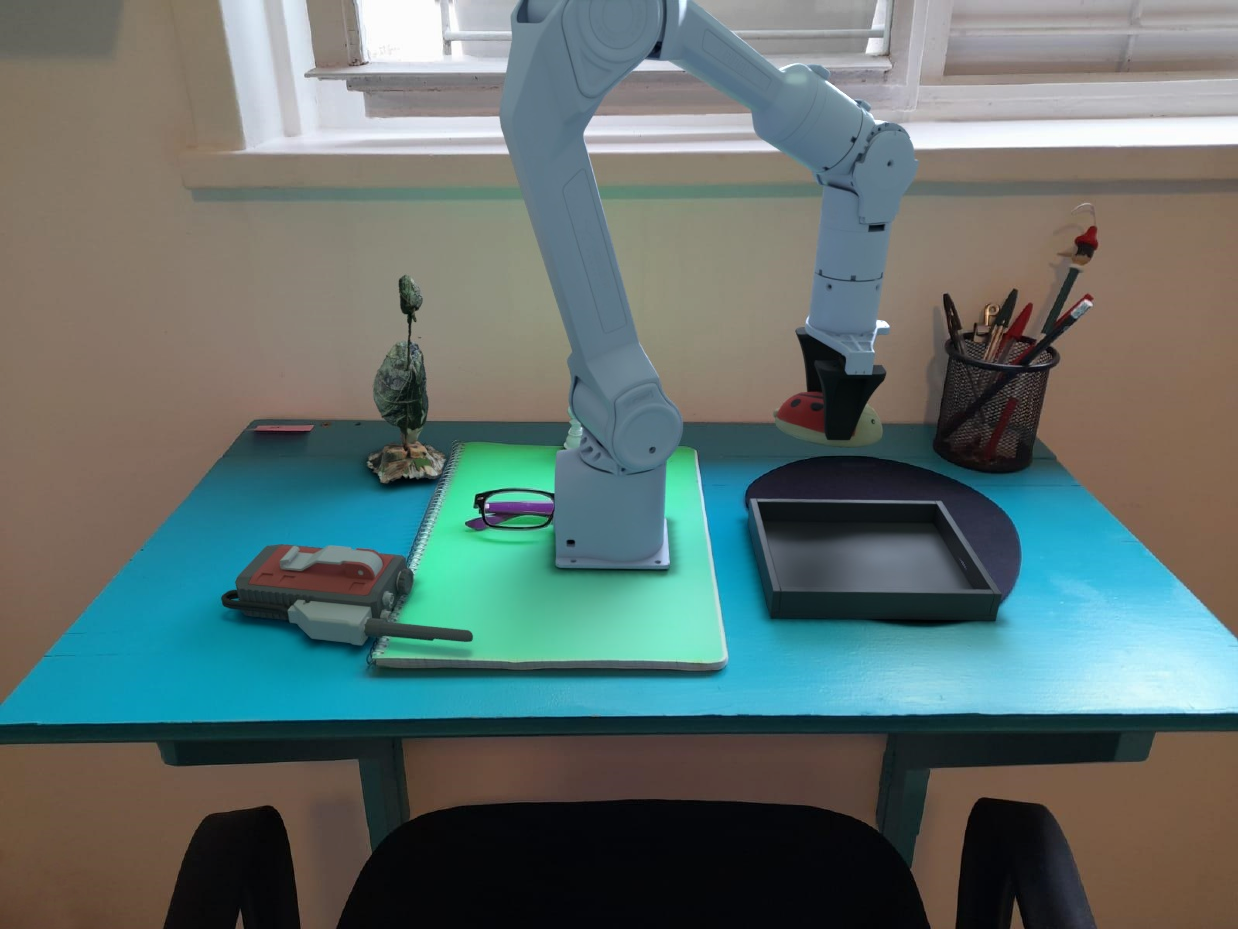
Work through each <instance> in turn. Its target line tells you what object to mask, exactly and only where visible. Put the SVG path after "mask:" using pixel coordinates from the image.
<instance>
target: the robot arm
mask: <svg viewBox="0 0 1238 929" xmlns="http://www.w3.org/2000/svg"><path fill="white" fill-rule="evenodd" d="M510 30H511V42H510V48H509V54H508V59H507V65H506V70H505V77H504V81H503V82H504V83H503V88H502V93H501V99H500V105H499V111H498V118H499V124H500V129H501V132H502V135H503V138H504V141H505V145H506V148H507V151H508V154H509V158H510V161H511V163H512V167H513V170H514V173H515V176H516V180H517V181H518V186H519V188H520V191H521V195H522V199H523V201H524V205H525V207H526V211H527V214H528V217H529V220H530V223H531V226H532V230H533V232H534V235H535V239H536V242H537V246H538V248H539V251H540V254H541V255H540V256H541V258H542V261H543V264H544V266H545V270H546V274H547V276H548V280H549V283H550V286H551V289H552V292H553V295H554V298H555V302H556V305H557V308H558V311H559V314H560V317H561V320H562V324H563V326H564V330H565V332H566V337H567V339H568V343H569V345H570V349H571V352H570V354H569V356H568V357H567V359H566V363H567V366H568V367H567V368H568V370H569V375H570V385H569V391H568V407H569V406H570V409H571V412H572V414H573V416H574V417H575V418H576V419H577V421H578V422H579V423H581V427H582V436H581V440H580V446H579V447H577V448H572V449H566V448H565V449H559V450H557V451H556V454H555V464H554V492H553V493H554V494H553V495H554V497H553V498H554V511H553V516H552V517H553V518H552V523H553V524H552V528H553V529H552V530H553V532H554V534H555V535H554V536H555V566H556V567H557V568H559V569H610V570H611V569H613V570H614V569H618V570H621V569H622V570H624V569H625V570H668V569H670V566H671V558H670V545H669V532H668V518H666V517H665V516H666V493H667V492H666V490H667V485H666V484H667V467H668V466H667V465H668V459H670V458H671V457H672V456H673V454H674V453H675V452H676V450H677V448H678V447H679V445H680V443H681V441H682V437H683V433H684V420H683V416H682V414H681V411H680V409H679V408H678V406H677V405H676V404H675V403H674V402H673V401H672V400H671V399H670V398H669V397H668V395H667V394H666V393H665V390H664V389H663V386H662V382H661V378H660V375H659V374H658V372H657V370H656V368H655V367H654V365H653V363H652V361H651V360H650V359H649V356H648V355H647V354H646V352H645V350H644V348H643V346H642V345H641V343H640V340H639V336H638V332H637V329H636V325H635V321H634V318H633V313H632V310H631V307H630V303H629V299H628V296H627V292H626V287H625V285H624V280H623V276H622V273H621V270H620V266H619V262H618V258H617V254H616V251H615V247H614V244H613V240H612V236H611V233H610V228H609V225H608V222H607V216H606V214H605V210H604V207H603V206H604V205H603V202H602V199H601V197H600V192H599V188H598V184H597V180H596V176H595V172H594V170H593V165H592V162H591V158H590V155H589V151H588V147H587V144H586V139H585V130H586V129H587V127H588V125H589V124H590V122H591V120H592V118H593V117H594V115H595V114H596V112H597V110H598V109H599V107H600V105H601V104H602V102H603V100H604V99H605V97H606V95H608V94H609V93H610V92H611V91H612V90H613V89H614V88H615V87H617V86H618V85H619V84H621V82H622V81H623V80H624V79H626V78H627V77H628V76H629V75H630V74H631V73H632V72H633V71H634V70H635V69H637V68H638V67H639V66H640V65H641V64H642V63H643V62H644V61H645V60H649V61H656V62H657V61H659V62H669V63H671V64H673V65H674V66H676V67H677V68H679V69H681V70H682V71H684V72H686V73H688V74H689V75H691V76H693V77H695V78H696V79H698V80H700V81H701V82H703V83H705V84H706V85H708V86H710V87H712V88H714V89H715V90H716V91H718V92H720V93H721V94H723V95H725V96H727V97H728V98H730V99H732V100H733V101H735V102H737V103H738V104H740V105H742V106H744V107H745V108H746V109H749V110H750V115H751V123H752V128H753V131H754V133H755V135H756V136H757V137H758V138H759V139H761V140H763V141H764V142H766V143H767V144H769V145H770V146H772V147H773V148H775V149H777V150H778V151H780V152H781V153H783V154H784V155H786V156H788V157H789V158H791V159H792V160H794V161H795V162H797V163H799V164H800V165H801V166H803V167H804V168H806V169H808V170H809V171H811V175H812V178H813V179H814V181H815V182H816V184H817V185H818V186H821V187H822V186H823V190H822V197H821V205H820V215H819V224H818V233H817V240H816V241H817V242H816V248H815V257H814V265H813V275H812V284H811V293H810V301H809V302H810V303H809V310H808V316H807V317H806V319H805V322H804V323H805V325H804V326H801V327H797V328H795V330H794V332H795V334H796V337H797V340H798V342H799V346H800V349H801V353H802V357H803V364H804V371H805V384H806V385H805V386H806V392H822V393H823V405H824V431H825V436H826V438H827V440H850V439H851V437H852V435H853V433H854V431H855V429H856V426H857V424H858V421H859V419H860V416H861V414H862V412H863V410H864V408H865V406H866V404H868V402H869V400H870V399H871V397H872V396H873V394H874V393H875V392H876V390H878V388H879V387H880V385H881V384H882V383H883V382H884V381H885V379H886V377H887V370H886V368H885V367H884V366H883V365H882V364H874V363H875V359H876V358H875V356H876V351H875V349H874V347H875V343H876V340H877V337H878V336H887V335H889V334H890V332H891V331H890V330H891V326H890V324H888V323H887V322H886V321H885V320H880V319H878V317H879V310H880V303H881V297H882V289H883V284H884V278H885V272H886V265H887V258H888V251H889V245H890V238H891V231H892V225H893V221H895V219H896V215H899V211H900V207H901V206H900V205H901V201H902V197H903V196H904V194H905V192H906V191H907V190H908V188H909V187H910V186H911V185H912V183H913V181H914V179H915V177H916V174H917V172H918V169H919V165H920V160H919V159H916V157H915V156H916V155H915V147H914V144H913V142H912V140H911V136H910V134H909V133H908V131H907V130H906V129H905V128H904V127H903V126H901V125H900V124H899V123H894V122H891V121H890V122H889V121H885V120H884V121H883V120H878V119H874V118H875V117H874V116H873V115H872V113H871V112H870V111H871V109H872V105H871V104H870V103H869V102H867V100H864V99H861V98H854V99H853V98H851V97H849V95H847V94H845V93H844V92H843V91H842V90H840V89H839V88H837V87H836V86H835V85H833V84H832V83H830V82H829V81H828V79H829V78H830V76H831V71H830V70H828V69H827V68H825V67H824V66H823V65H822V64H817V63H808V64H807V65H805V64H804V63H801V62H800V63H799V62H798V63H797V62H796V63H792V64H788V65H786V66H783V67H780V68H778V67H777V66H776V65H774V64H773V63H772V62H771V61H769V60H768V59H767V58H766V57H765V56H763V55H762V54H761V53H759V52H758V51H757V50H756V49H754V47H752V46H751V45H749V44H748V43H747V42H746V41H745V40H743V39H742V38H741V37H740V36H738V35H737V34H735V32H734V31H732V30H731V29H730V28H728V27H727V26H726V25H725V24H723V23H722V22H721V21H720V20H719V19H717V18H716V17H714V16H713V14H711V13H710V12H708V11H707V10H706V9H704V7H702V6H701V5H700V4H699V3H697V2H696V1H695V0H518V1H517V3H516V4H515V7H514V8H513V10H512V12H511V13H510Z"/></svg>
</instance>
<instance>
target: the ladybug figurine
mask: <svg viewBox="0 0 1238 929" xmlns="http://www.w3.org/2000/svg"><path fill="white" fill-rule="evenodd" d="M772 416H773V418H774V424H775V426H776V427H777V429H779V431H781V432H782V433H784V434H786V435H787V436H788V437H789V436H790V437H791V438H794V439H797V440H799V441H803V442H806V443H811V444H813V445H814V444H815V445H820V446H824V447H833V448H848V449H849V448H851V449H854V448H863V447H868V446H871V445H875V444H876V443H878V442H879V441H880V440H881V439H882V437H883V432H884V431H883V424H882V422H881V419H880V416H879V414H878V413H877V412H876V410H875V409H874V408H873V407H872V406H871V405H870V404H869V403H867V404H866V406H865V408H864V410H863V412H862V414H861V416H860V419H859V421H858V424H857V426H856V429H855V431H854V433H853V435H852V437H851V439H850V440H827V438H826V436H825V431H824V405H823V393H822V392H807V391H801V392H798V393H796V394H794V395H792V396H790V397H788V398H787V399H786V400H785V401H784V402H783V403H782V405H781V406H780V407H779V408H775V409H774V410H773V412H772Z"/></svg>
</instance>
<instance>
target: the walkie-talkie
mask: <svg viewBox="0 0 1238 929" xmlns="http://www.w3.org/2000/svg"><path fill="white" fill-rule="evenodd" d="M407 565H408V564H407V557H406V556H404V555H403V554H394V553H383V552H379V551H377V550H375V549H372V548H364V547H363V548H361V547H356V548H355V549H353V547H352V546H351V547H350V546H341V545H330V544H329V545H327V546H325V547H321V546H320V547H316V546H307V545H297V544H288V543H287V544H284V543H278V544H270V545H266V546H264V547H263V548H262V550H261V551H260V552H259V553H257V555H256V556H255V557H254V558H253V559H252V560H251V561H250V562H249V564H247V566H246V567H245V568H243V570H242V571H241V572H240V573H239V574H238V575H237V577H236V578H235V581H234V583H235V588H236V589H230V590H228V591H226V592H224V593H223V594H222V595H221V597H220V601H221V604H222V607H224V608H226V609H229V610H239V611H241V612H242V613H243V615H244V616H246V617H253V618H263V619H273V620H282V621H289V624H297V626H298V627H299V628H300V629H301V630H302V631H303V632H304V633H305V634H306V635H307V636H308V637H309V638H310V639H312V640H320V641H321V640H322V641H328V642H338V643H348V644H351V645H353V646H360V647H361V646H363V645H364V644H365V642H366V641H367V640H368V638H370V637H372V638H380V639H381V638H383V637H390V638H399V639H410V640H420V641H430V642H433V641H434V640H440V641H442V640H443V641H451V642H459V643H460V642H461V643H470V642H473V639H474V635H473V632H472V631H470V630H469V629H462V628H461V629H460V628H453V627H452V628H451V627H440V626H430V625H422V624H412V623H402V622H393V621H392V617H393V616H392V615H393V614H392V610H393V608H394V607H395V605H396V604H397V602H398V600H399V599H400V598H401V596H408V595H409V594H410V593H411V592H412V590H413V586H414V579H415V578H414V572H413V570H412V569H411V568H409V567H408V566H407ZM391 621H392V622H391Z"/></svg>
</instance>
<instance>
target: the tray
mask: <svg viewBox="0 0 1238 929" xmlns="http://www.w3.org/2000/svg"><path fill="white" fill-rule="evenodd" d="M747 514H748V515H747V525H748V529H749V533H750V538H751V543H752V547H753V551H754V554H755V559H756V564H757V568H758V571H759V575H760V580H761V584H762V587H763V592H764V597H765V600H766V604H767V605H766V606H767V609H768V613H769V614H768V615H769V617H770V619H828V620H830V619H831V620H839V619H840V620H847V619H848V620H902V621H903V620H904V621H905V620H906V621H907V620H910V621H913V620H914V621H916V620H917V621H922V620H923V621H982V622H983V621H985V622H987V621H989V622H991V621H993V622H995V621H996V619H997V615H998V612H999V608H1000V604H1001V600H1002V597H1003V593H1002V591H1001V590H1000V589H999V587H998V585H997V584H996V582H995V581H994V580H993V578H992V576H991V575H990V573H989V572H988V570H987V568H986V567H985V566H984V564H983V563H982V561H981V559H980V558H979V556H978V555H977V553H976V551H975V550H974V549H973V547H972V546H971V544H970V543H969V541H968V540H967V538H966V537H965V535H964V533H963V531H962V530H961V529H960V527H959V525H958V524H957V522H956V521H955V519H954V518H953V516H952V514H951V513H950V512H949V510H948V509H947V507H946V506H945V504H944V503H943V501H942V500H904V499H903V500H902V499H901V500H898V499H825V498H824V499H823V498H822V499H821V498H819V499H815V498H814V499H813V498H809V499H808V498H804V499H803V498H749V502H748V512H747ZM957 556H958V557H959V558H961V560H962V561H963V562H964V564H965V566H966V568H967V571H968V572H969V574H968V573H967V571H966V570H965V568H964V566H963V565H962V563H961V561H960V560H959V558H958V557H957ZM969 575H970V576H969Z"/></svg>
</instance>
